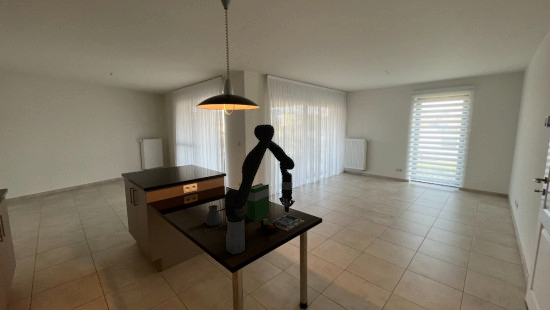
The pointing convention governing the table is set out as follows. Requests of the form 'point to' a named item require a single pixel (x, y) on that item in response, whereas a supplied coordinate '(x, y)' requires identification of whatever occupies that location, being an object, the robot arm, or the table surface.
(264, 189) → the hardback book
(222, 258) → the table surface
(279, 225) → the window
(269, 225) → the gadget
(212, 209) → the coffee pot
